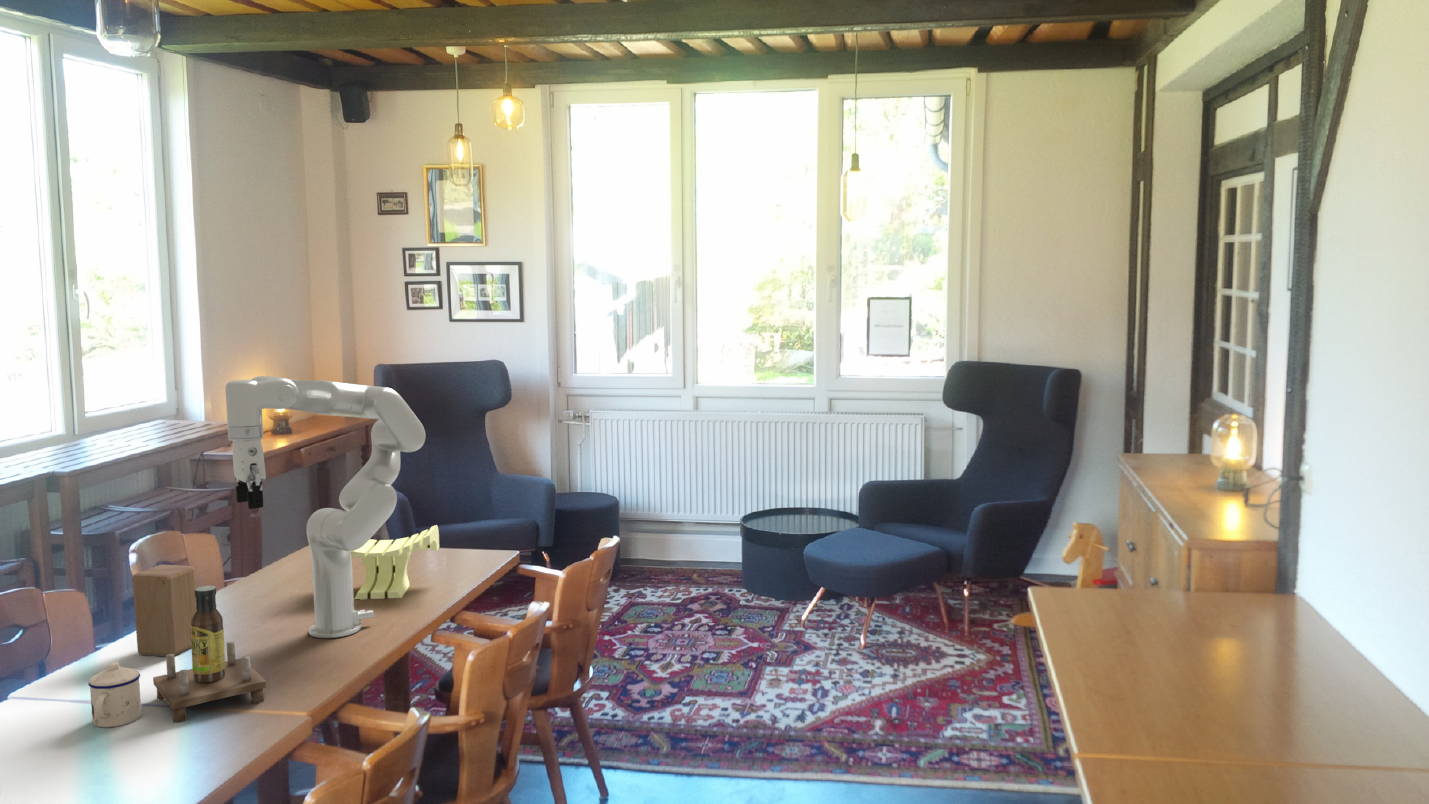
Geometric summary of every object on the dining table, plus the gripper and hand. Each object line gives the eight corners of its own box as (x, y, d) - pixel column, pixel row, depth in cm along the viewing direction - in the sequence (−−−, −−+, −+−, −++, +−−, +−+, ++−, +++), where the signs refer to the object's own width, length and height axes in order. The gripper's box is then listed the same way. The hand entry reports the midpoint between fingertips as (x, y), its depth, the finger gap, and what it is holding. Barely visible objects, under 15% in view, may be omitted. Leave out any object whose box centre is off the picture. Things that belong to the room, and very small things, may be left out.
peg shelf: (243, 677, 233) (241, 636, 232) (267, 701, 219) (264, 658, 218) (154, 697, 222) (151, 654, 221) (173, 724, 208) (170, 678, 207)
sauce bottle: (187, 680, 219) (181, 588, 217) (214, 671, 225) (209, 581, 222) (205, 686, 216) (199, 593, 214) (232, 676, 221) (227, 585, 219)
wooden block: (172, 658, 246) (167, 576, 243) (136, 655, 248) (130, 574, 245) (201, 644, 255) (196, 565, 253) (165, 641, 257) (160, 563, 255)
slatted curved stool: (440, 580, 309) (438, 522, 307) (432, 596, 294) (429, 534, 292) (336, 584, 306) (333, 525, 304) (322, 600, 290) (319, 538, 288)
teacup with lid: (104, 711, 215) (100, 657, 214) (150, 709, 216) (146, 655, 214) (75, 736, 203) (70, 678, 202) (124, 733, 204) (119, 676, 203)
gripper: (273, 435, 238) (277, 508, 240) (252, 427, 252) (256, 497, 253) (238, 438, 233) (243, 512, 235) (218, 430, 247) (223, 501, 249)
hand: (249, 504), depth 244 cm, fingers open, 9 cm apart
